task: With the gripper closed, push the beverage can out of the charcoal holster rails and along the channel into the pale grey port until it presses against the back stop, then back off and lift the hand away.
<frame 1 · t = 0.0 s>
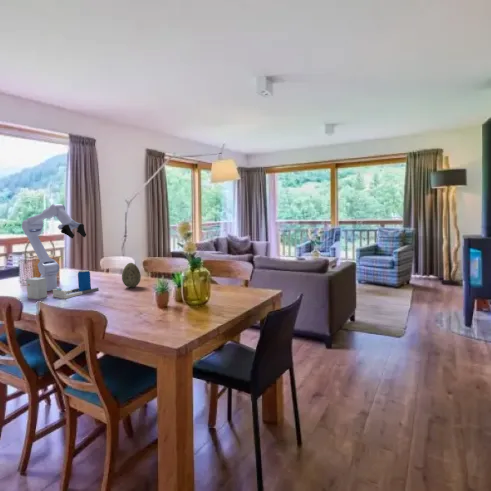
hand: (79, 236, 201), 32 cm above the table, tool tilted 50°, fingers open, 7 cm apart
small box: (37, 297, 198), on the table
beverage can: (84, 291, 211), resting in dock
dock: (76, 293, 207), on the table
decorative egg: (131, 287, 221), on the table
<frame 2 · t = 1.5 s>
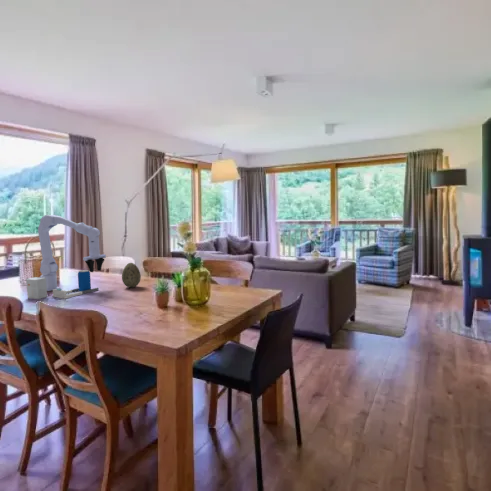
hand: (95, 271, 217), 10 cm above the table, tool pointing down, fingers open, 5 cm apart
nothing on the table moved.
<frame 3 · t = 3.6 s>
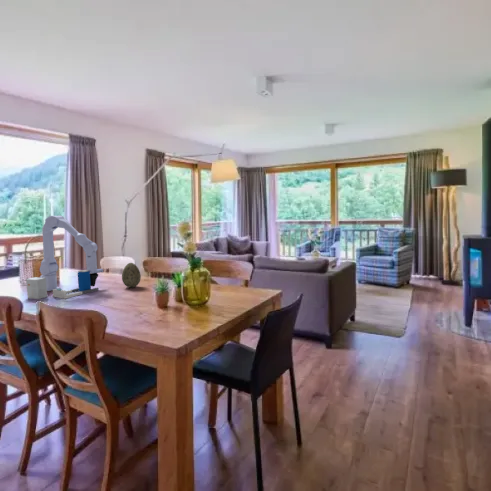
hand: (92, 286, 216), 2 cm above the table, tool pointing down, fingers closed
beverage can: (84, 291, 211), resting in dock, touching gripper
everything else where it was.
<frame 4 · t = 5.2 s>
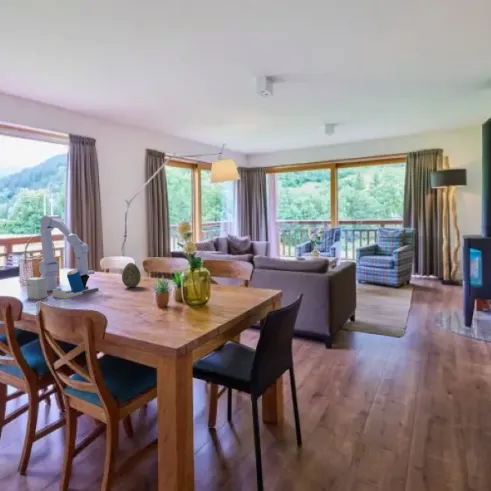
hand: (83, 288, 211), 2 cm above the table, tool pointing down, fingers closed
beverage can: (78, 291, 208), point 1 cm above the table, touching gripper
everything else where it was.
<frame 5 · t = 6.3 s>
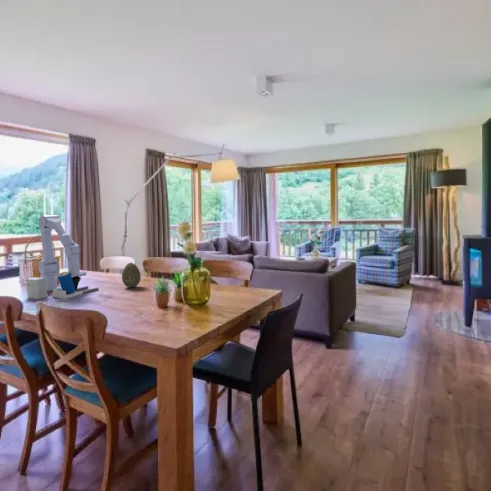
hand: (75, 290, 206), 2 cm above the table, tool pointing down, fingers closed
beverage can: (70, 293, 203), point 1 cm above the table, touching gripper
everything else where it was.
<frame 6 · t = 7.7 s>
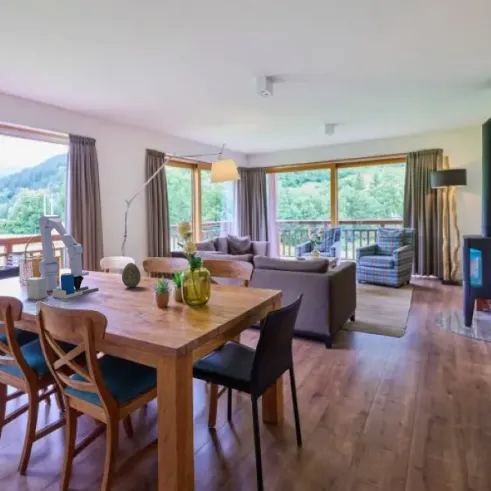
hand: (77, 289, 207), 2 cm above the table, tool pointing down, fingers closed
beverage can: (68, 295, 202), resting in dock
everything else where it was.
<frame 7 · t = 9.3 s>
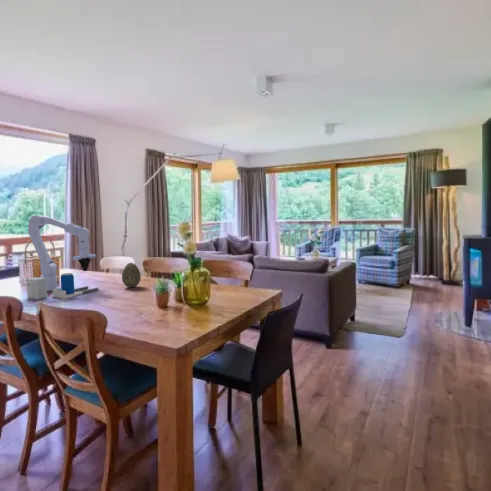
hand: (85, 270, 219), 10 cm above the table, tool pointing down, fingers closed
nothing on the table moved.
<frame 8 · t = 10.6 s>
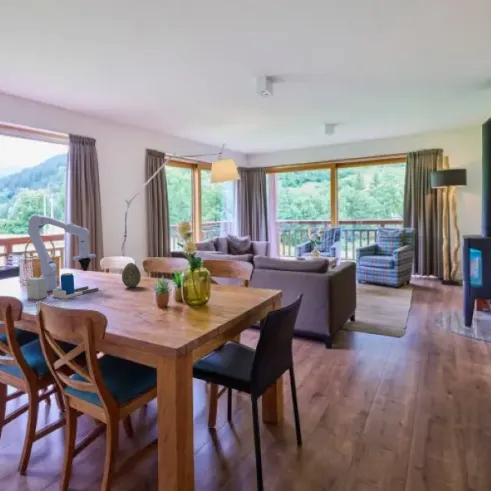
hand: (85, 270, 219), 10 cm above the table, tool pointing down, fingers closed
nothing on the table moved.
at the end: beverage can 1.3 cm from the target spot on the dock, point 0.0 cm above the dock's base; beverage can tilted 0°; beverage can moved 11.0 cm from its start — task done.
